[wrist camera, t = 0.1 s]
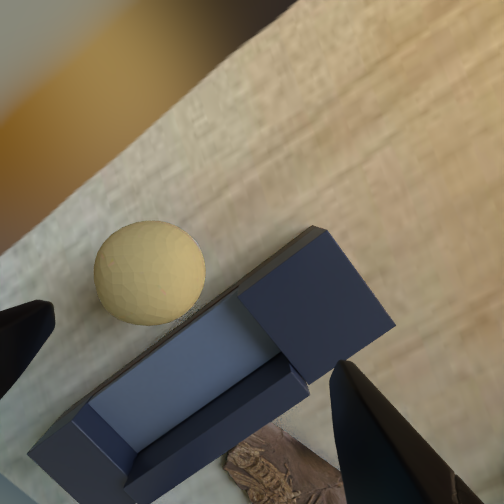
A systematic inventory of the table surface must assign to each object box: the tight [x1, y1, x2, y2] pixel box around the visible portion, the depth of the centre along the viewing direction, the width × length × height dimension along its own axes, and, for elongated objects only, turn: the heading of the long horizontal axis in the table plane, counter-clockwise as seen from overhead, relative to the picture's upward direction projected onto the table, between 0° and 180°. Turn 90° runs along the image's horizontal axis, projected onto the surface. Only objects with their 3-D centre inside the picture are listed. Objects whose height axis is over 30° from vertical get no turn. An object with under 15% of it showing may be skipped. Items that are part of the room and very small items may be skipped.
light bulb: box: [94, 221, 205, 326], centre depth 19 cm, size 6×6×10 cm
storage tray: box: [27, 225, 396, 504], centre depth 23 cm, size 30×9×6 cm, turn 128°
